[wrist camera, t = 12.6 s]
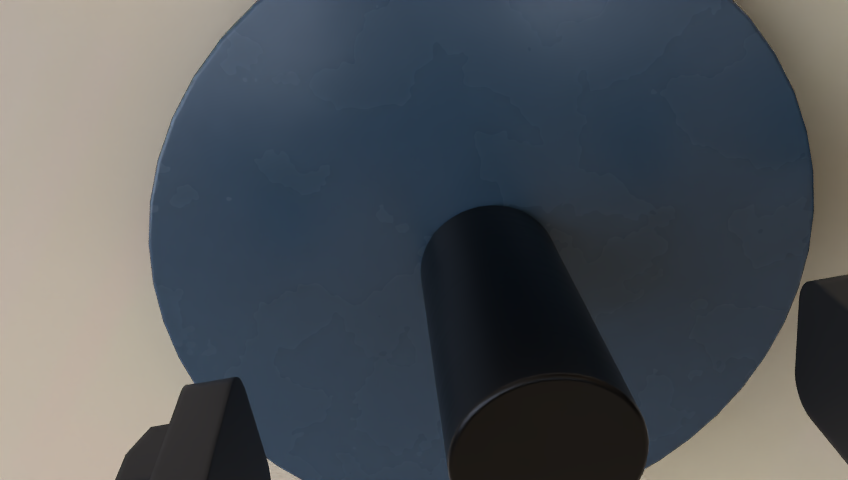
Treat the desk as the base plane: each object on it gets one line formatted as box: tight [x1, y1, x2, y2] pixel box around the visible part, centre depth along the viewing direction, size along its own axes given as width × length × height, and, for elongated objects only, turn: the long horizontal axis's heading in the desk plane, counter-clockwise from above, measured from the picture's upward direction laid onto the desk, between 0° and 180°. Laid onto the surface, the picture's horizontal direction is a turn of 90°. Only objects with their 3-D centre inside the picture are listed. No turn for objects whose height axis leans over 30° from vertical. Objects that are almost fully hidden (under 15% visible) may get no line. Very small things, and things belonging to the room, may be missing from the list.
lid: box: [149, 0, 814, 480], centre depth 13 cm, size 13×13×7 cm
